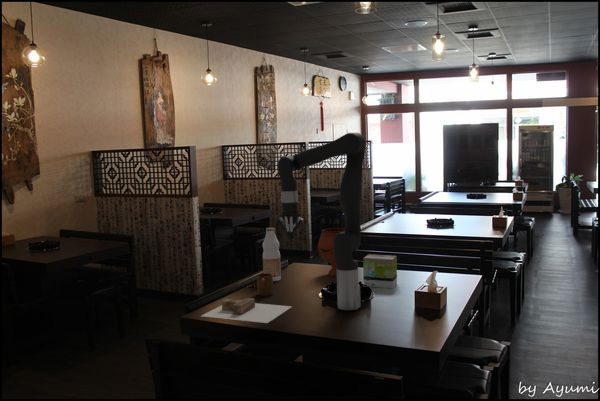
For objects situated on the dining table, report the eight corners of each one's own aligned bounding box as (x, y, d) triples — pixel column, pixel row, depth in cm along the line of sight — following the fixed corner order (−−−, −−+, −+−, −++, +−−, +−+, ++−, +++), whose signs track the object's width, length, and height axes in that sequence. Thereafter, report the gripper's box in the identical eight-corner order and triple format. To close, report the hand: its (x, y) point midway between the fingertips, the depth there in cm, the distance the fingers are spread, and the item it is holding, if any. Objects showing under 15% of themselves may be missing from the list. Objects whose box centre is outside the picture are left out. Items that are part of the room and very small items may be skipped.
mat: (292, 306, 238) (292, 306, 238) (267, 323, 216) (267, 322, 216) (229, 301, 251) (229, 300, 251) (200, 316, 229) (200, 316, 229)
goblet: (360, 272, 299) (359, 228, 297) (339, 279, 285) (338, 233, 282) (333, 268, 312) (331, 226, 309) (312, 275, 297) (310, 230, 295)
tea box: (363, 287, 268) (362, 257, 266) (368, 282, 277) (367, 253, 276) (393, 288, 262) (392, 258, 261) (397, 283, 271) (396, 254, 270)
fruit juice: (265, 282, 285) (262, 230, 283) (262, 278, 294) (260, 227, 292) (282, 280, 287) (280, 228, 285) (279, 277, 296) (277, 226, 294)
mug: (270, 298, 253) (270, 279, 252) (254, 298, 253) (254, 279, 252) (274, 292, 265) (273, 273, 264) (259, 292, 265) (258, 273, 264)
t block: (254, 307, 239) (254, 298, 238) (241, 315, 228) (240, 305, 227) (231, 305, 244) (231, 296, 243) (217, 312, 233) (216, 303, 232)
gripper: (306, 200, 241) (308, 238, 242) (280, 200, 246) (281, 237, 247) (299, 202, 234) (301, 241, 235) (272, 202, 239) (274, 240, 241)
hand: (291, 239), depth 241 cm, fingers closed
